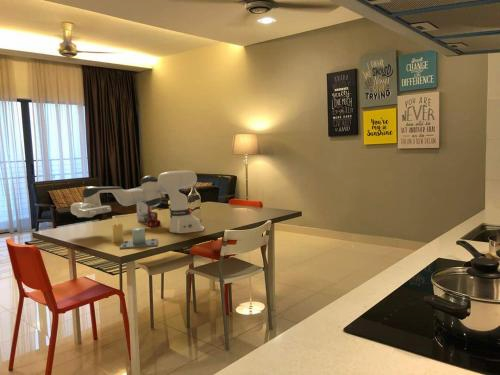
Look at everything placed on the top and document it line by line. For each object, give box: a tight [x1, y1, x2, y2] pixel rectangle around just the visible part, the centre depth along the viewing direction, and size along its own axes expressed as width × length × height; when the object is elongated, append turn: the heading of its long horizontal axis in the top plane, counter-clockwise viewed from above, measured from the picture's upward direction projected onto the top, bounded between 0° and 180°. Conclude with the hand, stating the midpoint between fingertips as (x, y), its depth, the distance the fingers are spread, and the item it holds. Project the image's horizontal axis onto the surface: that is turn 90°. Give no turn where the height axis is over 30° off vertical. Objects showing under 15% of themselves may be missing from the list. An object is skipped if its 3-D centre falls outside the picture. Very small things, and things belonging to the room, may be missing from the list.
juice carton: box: [134, 185, 153, 223], centre depth 303 cm, size 9×10×27 cm
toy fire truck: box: [145, 211, 162, 228], centre depth 283 cm, size 7×12×10 cm, turn 40°
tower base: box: [119, 227, 159, 250], centre depth 231 cm, size 20×14×9 cm
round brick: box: [112, 222, 125, 244], centre depth 241 cm, size 6×6×11 cm
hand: (102, 211), depth 247 cm, fingers open, 8 cm apart
